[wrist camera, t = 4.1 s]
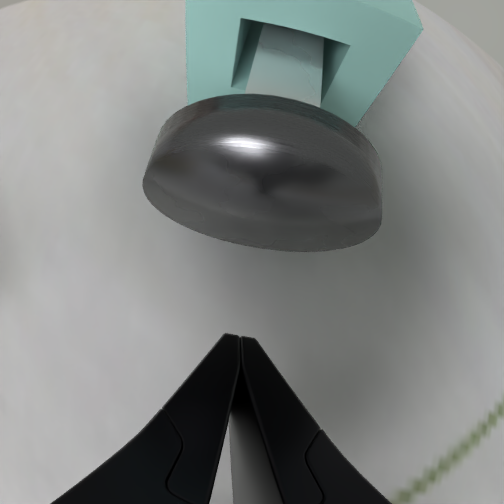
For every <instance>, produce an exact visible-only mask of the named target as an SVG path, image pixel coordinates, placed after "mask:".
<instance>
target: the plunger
mask: <svg viewBox="0 0 504 504" xmlns="http://www.w3.org/2000/svg"><path fill="white" fill-rule="evenodd" d="M323 48H324V37H322V36H319V35H315V34H312V33H308V32H304V31H300V30H296V29H292V28H288V27H284V26H280V25H275V24H270V23H265V22H264V25H263V28H262V32H261V35H260V39H259V42H258V46H257V50H256V53H255V57H254V60H253V64H252V68H251V71H250V75H249V79H248V83H247V86H246V90H245V94H230V95H223V96H216V97H212V98H208V99H204V100H200V101H198V102H195V103H193V104H190V105H188V106H186V107H184V108H182V109H181V110H179V111H177V112H176V113H175V114H173V115H172V116H171V117H170V118H169V119H168V120H167V121H166V122H165V124H164V125H163V126H162V128H161V130H160V133H159V135H158V138H157V140H156V143H155V146H154V149H153V152H152V154H151V157H150V160H149V163H148V166H147V169H146V172H145V175H144V178H143V190H144V193H145V195H146V197H147V199H148V200H149V201H150V202H151V204H152V205H153V206H154V207H155V208H157V209H158V210H159V211H160V212H161V213H163V214H164V215H165V216H167V217H169V218H170V219H172V220H173V221H175V222H177V223H179V224H181V225H183V226H185V227H187V228H190V229H192V230H194V231H197V232H199V233H202V234H205V235H208V236H211V237H214V238H217V239H221V240H224V241H228V242H232V243H236V244H241V245H245V246H251V247H256V248H263V249H270V250H279V251H295V252H315V251H328V250H336V249H341V248H346V247H350V246H353V245H356V244H359V243H361V242H363V241H365V240H367V239H369V238H370V237H371V236H373V235H374V234H375V233H376V232H377V230H378V229H379V227H380V225H381V219H382V168H381V163H380V159H379V157H378V155H377V152H376V150H375V149H374V148H373V146H372V145H371V143H370V142H369V141H368V140H367V139H366V138H365V137H364V136H363V134H362V133H361V132H360V131H358V130H357V129H356V128H354V127H353V126H352V125H350V124H349V123H348V122H346V121H345V120H343V119H341V118H339V117H338V116H336V115H334V114H332V113H330V112H328V111H326V110H324V109H321V108H320V103H321V87H322V69H323Z"/></svg>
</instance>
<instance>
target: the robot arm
mask: <svg viewBox="0 0 504 504" xmlns="http://www.w3.org/2000/svg"><path fill="white" fill-rule="evenodd" d="M228 421H229V435H230V454H231V472H232V489H233V504H392V503H391V502H389V501H388V500H387V499H386V498H385V497H384V496H383V495H382V494H381V493H380V492H379V491H378V490H377V489H376V488H375V487H374V486H373V485H372V484H370V483H369V482H368V481H367V480H366V479H365V478H364V477H363V476H362V475H361V474H360V473H359V472H358V471H357V470H356V469H355V468H354V466H353V465H352V464H351V463H350V462H349V461H348V460H347V459H346V458H345V457H344V456H343V455H342V453H341V452H340V451H339V450H338V449H337V447H336V446H335V445H334V444H333V443H332V441H331V440H330V439H329V437H328V436H327V435H326V434H325V432H324V431H323V430H320V426H319V425H318V424H317V422H316V421H315V420H314V418H313V417H312V416H311V414H310V413H309V412H308V410H307V409H306V408H305V406H304V405H303V404H302V402H301V401H300V400H299V398H298V397H297V396H296V394H295V393H294V392H293V390H292V389H291V387H290V386H289V385H288V383H287V382H286V381H285V379H284V378H283V376H282V375H281V374H280V372H279V371H278V369H277V368H276V367H275V365H274V364H273V362H272V361H271V360H270V358H269V357H268V355H267V354H266V353H265V351H264V350H263V348H262V347H261V346H260V344H259V343H258V341H257V340H256V339H255V338H251V337H245V336H241V337H240V338H239V336H238V335H233V334H228V333H225V334H223V335H222V337H221V338H220V339H219V340H218V342H217V343H216V344H215V345H214V346H213V348H212V349H211V350H210V351H209V352H208V354H207V355H206V356H205V357H204V358H203V360H202V361H201V362H200V363H199V364H198V366H197V367H196V368H195V369H194V370H193V372H192V373H191V374H190V375H189V376H188V378H187V379H186V380H185V381H184V382H183V384H182V385H181V386H180V387H179V388H178V390H177V391H176V392H175V393H174V394H173V395H172V397H171V398H170V399H169V400H168V401H167V402H166V404H165V405H164V406H163V407H162V409H160V410H159V411H158V412H157V414H156V415H155V416H154V417H153V418H152V419H151V420H150V421H149V423H148V424H147V425H146V426H145V427H144V428H143V429H142V430H141V431H140V432H139V433H138V434H137V435H136V436H135V437H134V438H133V439H131V440H130V441H129V442H128V443H127V444H126V445H125V446H124V447H123V448H121V449H120V450H119V451H118V452H116V453H115V454H114V455H113V456H112V457H110V458H109V459H108V460H107V461H105V462H104V463H103V464H102V465H100V466H99V467H98V468H97V469H95V470H94V471H93V472H91V473H90V474H89V475H88V476H86V477H85V478H84V479H83V480H81V481H80V482H79V483H77V484H76V485H75V486H73V487H72V488H71V489H69V490H68V491H67V492H65V493H64V494H63V495H61V496H60V497H59V498H57V499H56V500H55V501H53V502H52V503H51V504H209V502H210V498H211V494H212V490H213V486H214V481H215V477H216V473H217V469H218V464H219V460H220V456H221V452H222V447H223V443H224V439H225V434H226V430H227V426H228Z"/></svg>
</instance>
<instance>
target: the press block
mask: <svg viewBox="0 0 504 504" xmlns="http://www.w3.org/2000/svg"><path fill="white" fill-rule="evenodd" d="M264 22H265V23H270V24H275V25H280V26H284V27H288V28H292V29H296V30H300V31H304V32H308V33H312V34H315V35H319V36H322V37H324V48H323V69H322V87H321V103H320V108H321V109H324V110H326V111H328V112H330V113H332V114H334V115H336V116H338V117H339V118H341V119H343V120H345V121H346V122H348V123H349V124H350V125H352V126H353V127H354V128H355V127H356V125H357V124H358V123H359V121H360V120H361V118H362V117H363V115H364V114H365V113H366V111H367V110H368V108H369V107H370V105H371V104H372V103H373V101H374V100H375V98H376V97H377V95H378V94H379V93H380V91H381V90H382V88H383V87H384V85H385V84H386V83H387V81H388V80H389V78H390V77H391V75H392V74H393V73H394V71H395V70H396V68H397V67H398V65H399V64H400V62H401V61H402V60H403V58H404V57H405V55H406V54H407V52H408V51H409V50H410V48H411V47H412V45H413V44H414V42H415V41H416V39H417V38H418V36H419V35H420V34H421V32H422V31H423V27H422V24H421V21H420V19H419V16H418V14H417V11H416V9H415V7H414V4H413V2H412V0H186V67H187V96H188V105H190V104H193V103H195V102H198V101H200V100H204V99H208V98H212V97H216V96H223V95H230V94H245V90H246V86H247V83H248V79H249V75H250V71H251V68H252V64H253V60H254V57H255V53H256V50H257V46H258V42H259V39H260V35H261V32H262V28H263V25H264Z"/></svg>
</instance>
